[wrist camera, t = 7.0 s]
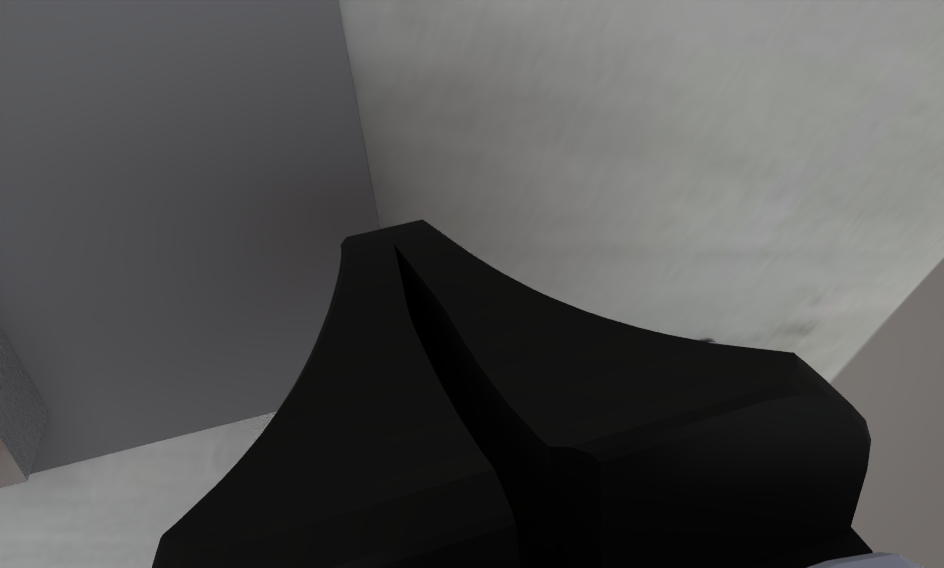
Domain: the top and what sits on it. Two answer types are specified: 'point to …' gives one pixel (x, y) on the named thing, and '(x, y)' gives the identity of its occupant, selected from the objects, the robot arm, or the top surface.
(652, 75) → the top surface
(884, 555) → the robot arm
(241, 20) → the mounting board
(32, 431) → the ball valve
